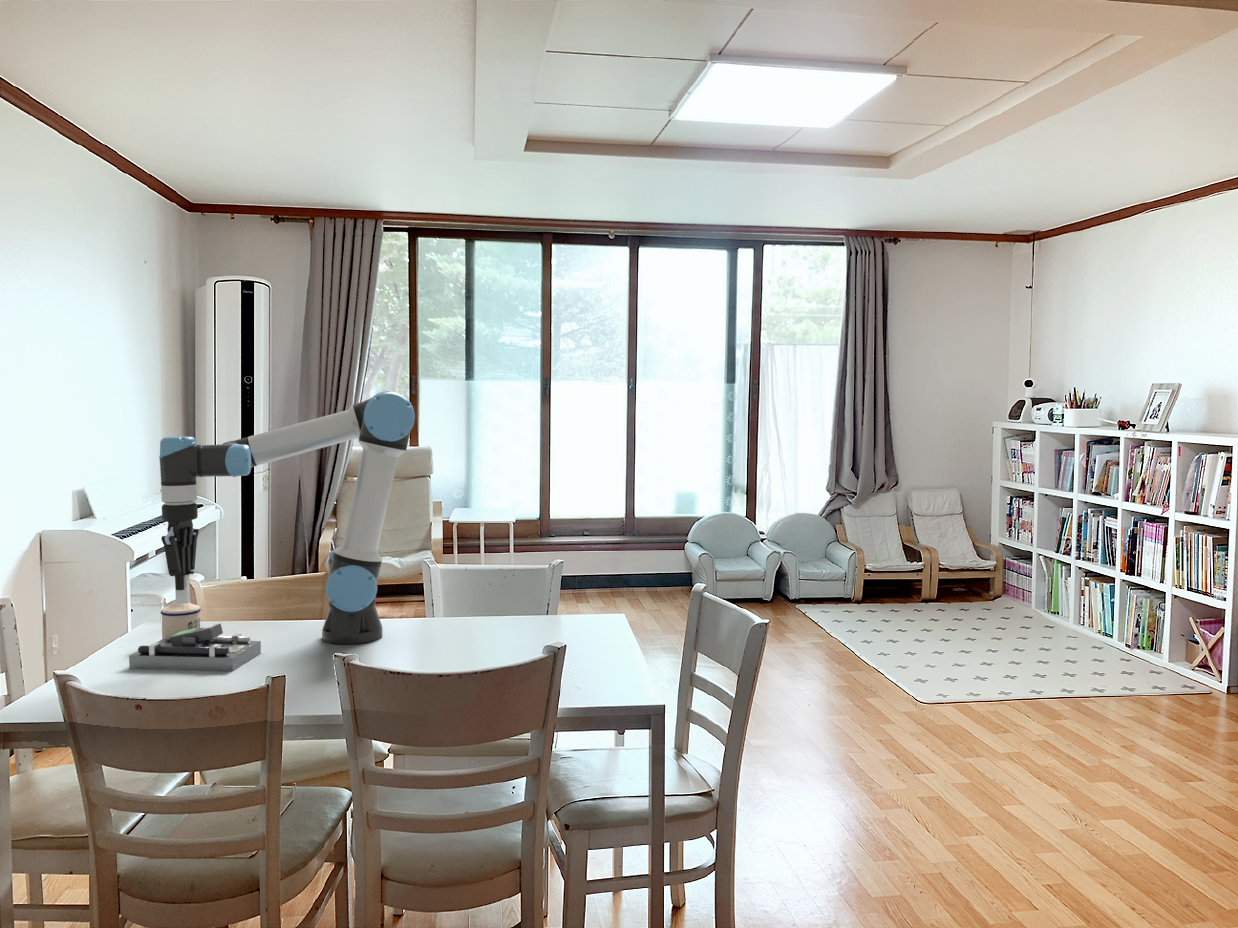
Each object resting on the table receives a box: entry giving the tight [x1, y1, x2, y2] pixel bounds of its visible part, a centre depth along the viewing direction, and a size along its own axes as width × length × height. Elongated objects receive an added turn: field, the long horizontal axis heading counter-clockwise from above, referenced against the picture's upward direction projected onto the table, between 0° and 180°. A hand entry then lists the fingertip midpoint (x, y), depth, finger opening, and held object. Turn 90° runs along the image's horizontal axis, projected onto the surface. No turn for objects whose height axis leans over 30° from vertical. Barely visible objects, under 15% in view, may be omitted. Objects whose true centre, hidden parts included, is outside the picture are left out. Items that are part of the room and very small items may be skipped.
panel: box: [128, 633, 262, 672], centre depth 220 cm, size 24×15×6 cm, turn 88°
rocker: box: [170, 623, 224, 646], centre depth 219 cm, size 10×5×3 cm, turn 88°
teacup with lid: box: [160, 601, 202, 640], centre depth 235 cm, size 12×9×12 cm
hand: (183, 602), depth 219 cm, fingers closed
